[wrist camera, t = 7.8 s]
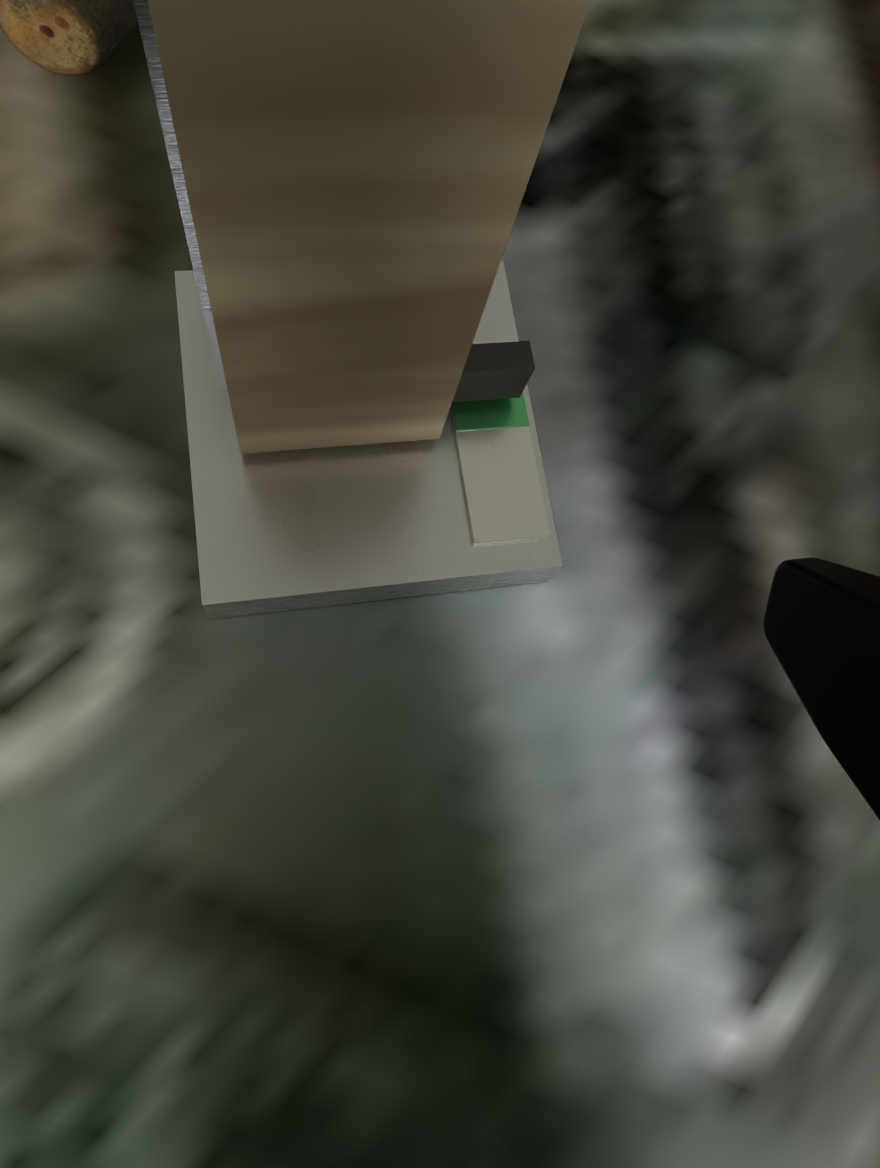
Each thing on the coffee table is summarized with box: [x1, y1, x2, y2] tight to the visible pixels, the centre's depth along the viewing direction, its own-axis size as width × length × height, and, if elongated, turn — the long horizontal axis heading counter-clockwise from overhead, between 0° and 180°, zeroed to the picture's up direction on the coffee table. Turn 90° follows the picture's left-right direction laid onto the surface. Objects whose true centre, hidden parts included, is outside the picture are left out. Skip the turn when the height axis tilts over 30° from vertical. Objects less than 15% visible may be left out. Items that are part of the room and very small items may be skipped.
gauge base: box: [133, 0, 563, 619], centre depth 14 cm, size 7×7×8 cm
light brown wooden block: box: [148, 0, 591, 454], centre depth 12 cm, size 2×6×10 cm, turn 98°
